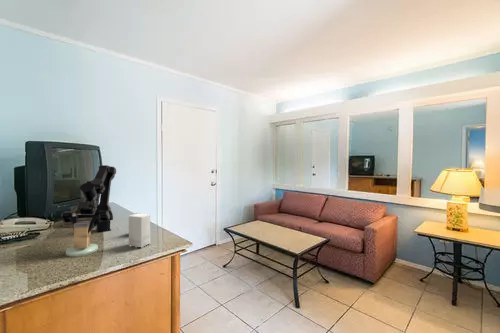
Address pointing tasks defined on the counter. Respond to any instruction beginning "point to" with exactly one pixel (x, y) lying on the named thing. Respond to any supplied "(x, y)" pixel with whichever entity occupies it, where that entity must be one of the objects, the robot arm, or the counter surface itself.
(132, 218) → the skincare box
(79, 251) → the sage green coaster
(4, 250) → the counter surface
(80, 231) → the grey cushioned footstool
